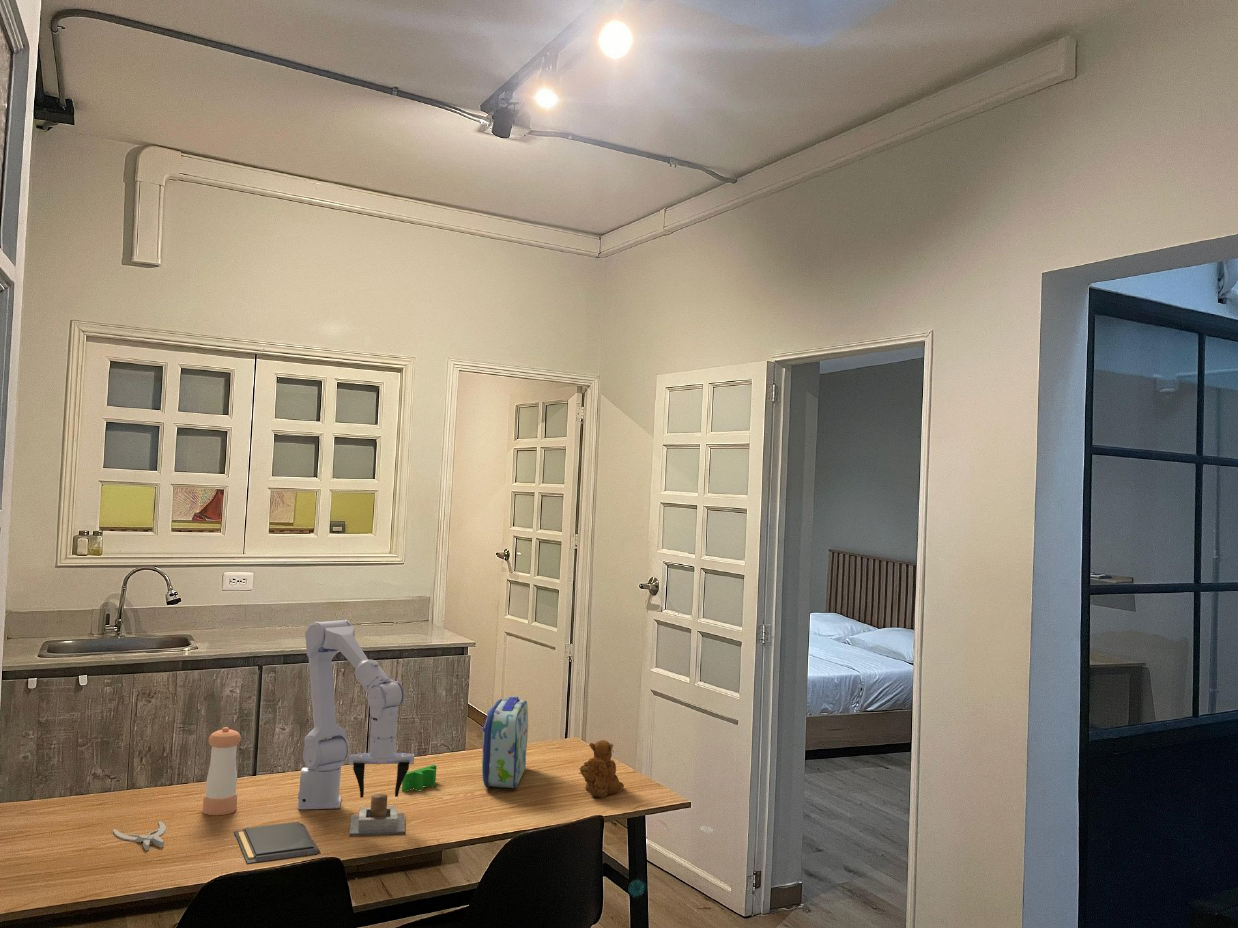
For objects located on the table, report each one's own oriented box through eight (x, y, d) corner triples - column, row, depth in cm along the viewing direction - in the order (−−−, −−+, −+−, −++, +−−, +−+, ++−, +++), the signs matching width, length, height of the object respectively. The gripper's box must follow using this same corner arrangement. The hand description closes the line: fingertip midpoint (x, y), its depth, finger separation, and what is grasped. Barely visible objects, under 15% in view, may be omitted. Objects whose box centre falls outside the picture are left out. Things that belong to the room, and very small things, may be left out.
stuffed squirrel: (625, 787, 243) (627, 738, 244) (610, 803, 230) (613, 751, 230) (590, 782, 246) (592, 734, 246) (573, 798, 232) (576, 746, 233)
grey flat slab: (322, 848, 188) (243, 858, 180) (321, 857, 188) (243, 868, 180) (305, 817, 205) (233, 825, 198) (305, 825, 205) (233, 834, 198)
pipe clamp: (412, 794, 229) (413, 776, 229) (401, 791, 231) (402, 773, 231) (442, 784, 238) (443, 766, 239) (432, 781, 240) (433, 763, 241)
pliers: (162, 817, 201) (180, 838, 189) (161, 824, 201) (180, 845, 189) (112, 825, 194) (128, 847, 183) (111, 832, 194) (128, 855, 183)
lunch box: (491, 763, 259) (495, 690, 260) (528, 765, 259) (532, 692, 260) (476, 792, 233) (480, 710, 234) (517, 794, 233) (522, 713, 234)
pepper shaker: (195, 810, 209) (201, 727, 210) (222, 802, 215) (228, 721, 216) (216, 817, 205) (222, 732, 206) (243, 808, 212) (249, 726, 213)
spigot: (369, 825, 204) (370, 798, 204) (370, 819, 207) (371, 793, 207) (385, 825, 204) (387, 798, 205) (386, 819, 208) (388, 793, 208)
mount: (349, 836, 198) (350, 823, 198) (351, 817, 210) (352, 805, 210) (404, 833, 201) (405, 821, 201) (404, 815, 213) (404, 803, 213)
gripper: (349, 740, 201) (345, 802, 200) (416, 740, 205) (412, 800, 204) (351, 732, 208) (347, 791, 207) (415, 732, 211) (411, 790, 211)
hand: (379, 795), depth 206 cm, fingers open, 7 cm apart
